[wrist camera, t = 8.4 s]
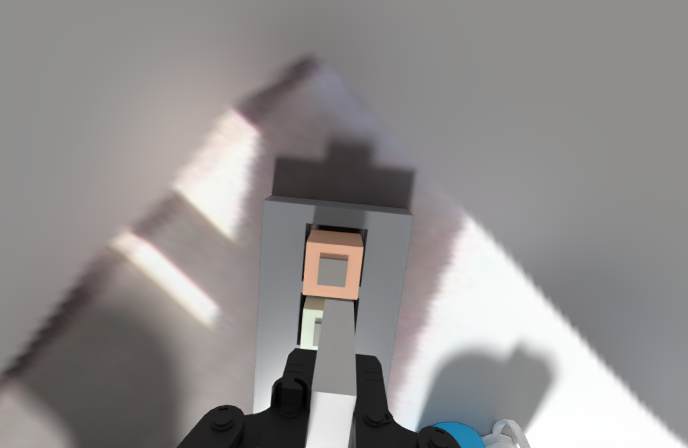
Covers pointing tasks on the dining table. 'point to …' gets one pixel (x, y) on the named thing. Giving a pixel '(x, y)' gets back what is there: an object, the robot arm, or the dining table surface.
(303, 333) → the pale green square block
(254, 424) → the robot arm
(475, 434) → the mug
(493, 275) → the dining table surface
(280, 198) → the grey board
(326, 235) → the orange hollow cube
